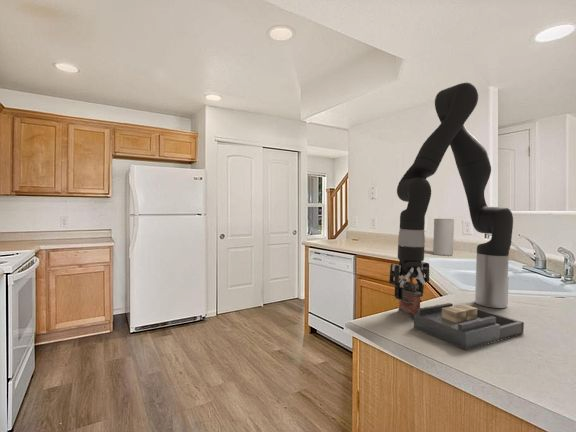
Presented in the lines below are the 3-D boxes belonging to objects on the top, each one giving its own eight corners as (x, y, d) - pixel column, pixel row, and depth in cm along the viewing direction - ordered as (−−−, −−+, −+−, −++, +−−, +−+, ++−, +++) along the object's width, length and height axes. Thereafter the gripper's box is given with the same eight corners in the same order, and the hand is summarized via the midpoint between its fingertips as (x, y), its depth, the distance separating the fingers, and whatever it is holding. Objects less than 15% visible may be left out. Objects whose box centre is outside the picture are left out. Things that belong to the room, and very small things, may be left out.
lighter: (395, 310, 102) (396, 279, 101) (404, 309, 103) (405, 278, 103) (414, 319, 94) (415, 285, 94) (423, 318, 95) (424, 284, 95)
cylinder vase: (434, 252, 235) (435, 218, 234) (453, 254, 228) (454, 219, 228) (432, 254, 224) (433, 218, 223) (452, 256, 218) (453, 219, 217)
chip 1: (451, 315, 86) (452, 306, 86) (465, 320, 83) (466, 310, 82) (441, 317, 84) (442, 308, 84) (455, 322, 81) (455, 312, 81)
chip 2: (462, 313, 88) (463, 304, 88) (477, 317, 85) (477, 308, 85) (453, 315, 86) (453, 305, 86) (467, 320, 83) (467, 310, 83)
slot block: (445, 320, 93) (446, 302, 93) (499, 340, 80) (500, 318, 80) (413, 327, 88) (414, 307, 87) (465, 350, 74) (466, 326, 74)
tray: (469, 315, 98) (469, 306, 98) (523, 333, 85) (523, 322, 85) (445, 320, 93) (446, 310, 93) (499, 340, 80) (499, 328, 80)
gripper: (417, 242, 104) (415, 292, 105) (384, 243, 98) (382, 296, 98) (437, 245, 98) (435, 298, 98) (403, 246, 91) (401, 303, 92)
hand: (408, 297), depth 98 cm, fingers open, 8 cm apart
